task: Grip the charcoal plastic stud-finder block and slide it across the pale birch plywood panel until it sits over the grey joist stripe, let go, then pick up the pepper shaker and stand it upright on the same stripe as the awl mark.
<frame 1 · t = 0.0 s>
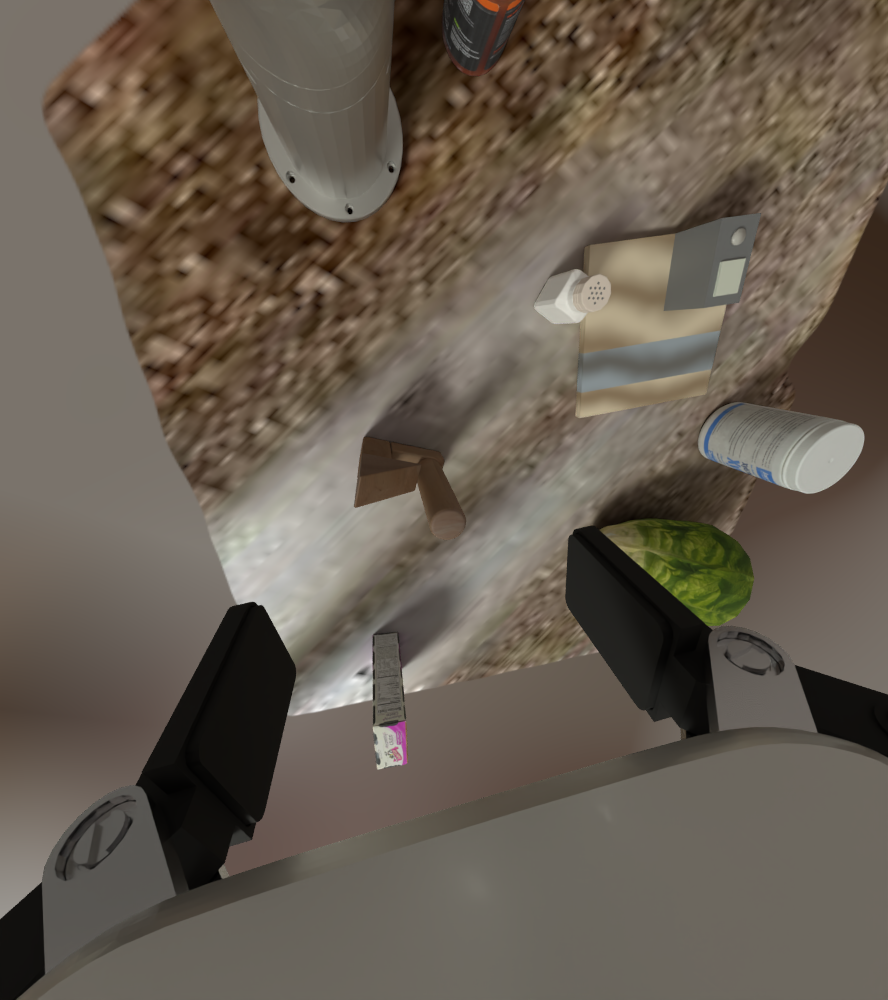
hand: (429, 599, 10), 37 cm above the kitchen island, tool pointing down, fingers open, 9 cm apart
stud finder: (685, 271, 41), point 1 cm above the kitchen island, touching plywood panel
supplement bottle: (471, 33, 30), on the kitchen island
wooden block: (400, 455, 47), on the kitchen island
lettuce: (628, 538, 61), on the kitchen island
candy bar box: (387, 652, 63), on the kitchen island
plywood panel: (648, 329, 45), on the kitchen island
supplement tub: (720, 430, 54), on the kitchen island
pepper shaker: (550, 301, 41), on the kitchen island
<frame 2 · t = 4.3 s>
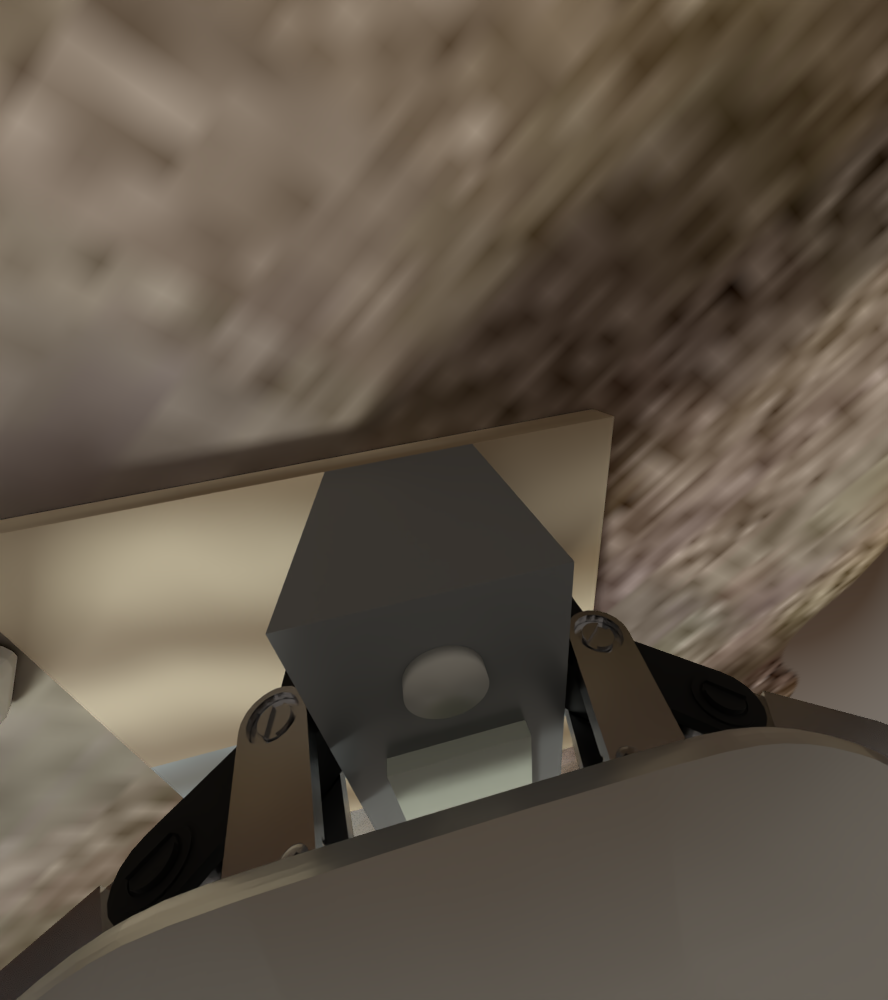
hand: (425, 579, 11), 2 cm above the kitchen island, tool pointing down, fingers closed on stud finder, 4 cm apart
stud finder: (421, 561, 12), point 1 cm above the kitchen island, touching gripper, plywood panel
plywood panel: (376, 661, 15), on the kitchen island
when the fingers open (2 cm above the kitchen island, at t = 7.3 s): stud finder stays where it is, resting on plywood panel.
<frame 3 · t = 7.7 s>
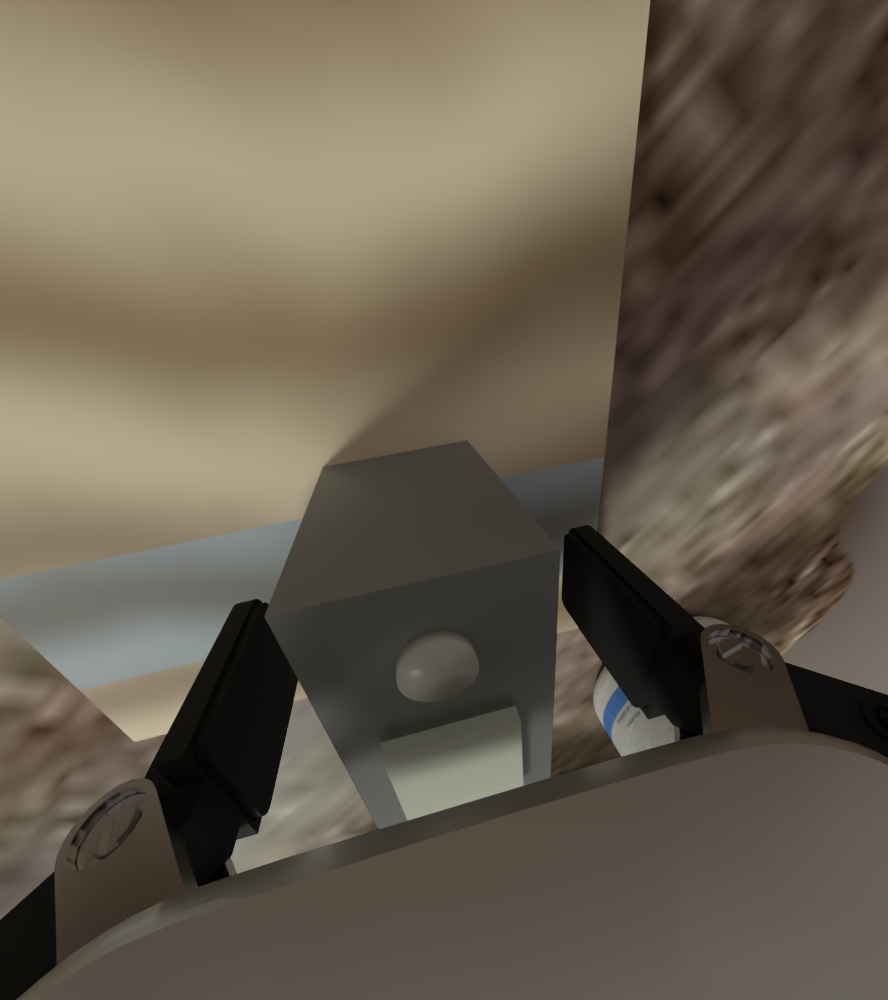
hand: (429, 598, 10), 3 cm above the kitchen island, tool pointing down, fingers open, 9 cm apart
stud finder: (418, 556, 12), point 1 cm above the kitchen island, touching plywood panel
plywood panel: (307, 459, 11), on the kitchen island
supplement tub: (656, 662, 21), on the kitchen island
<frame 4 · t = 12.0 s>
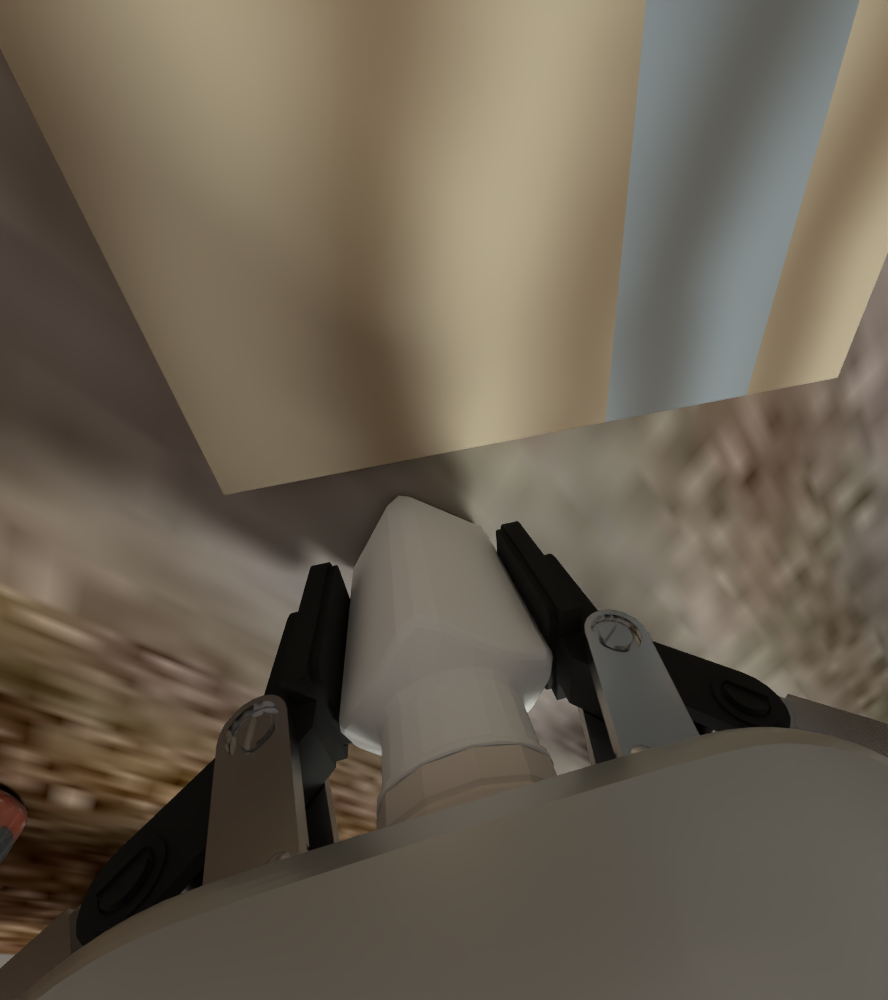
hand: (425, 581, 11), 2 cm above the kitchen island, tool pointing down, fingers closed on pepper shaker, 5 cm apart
pepper shaker: (418, 544, 13), on the kitchen island, touching gripper
when the fingers open (4 cm above the kitchen island, at t = 16.8 s): pepper shaker drops 1 cm, resting on plywood panel.
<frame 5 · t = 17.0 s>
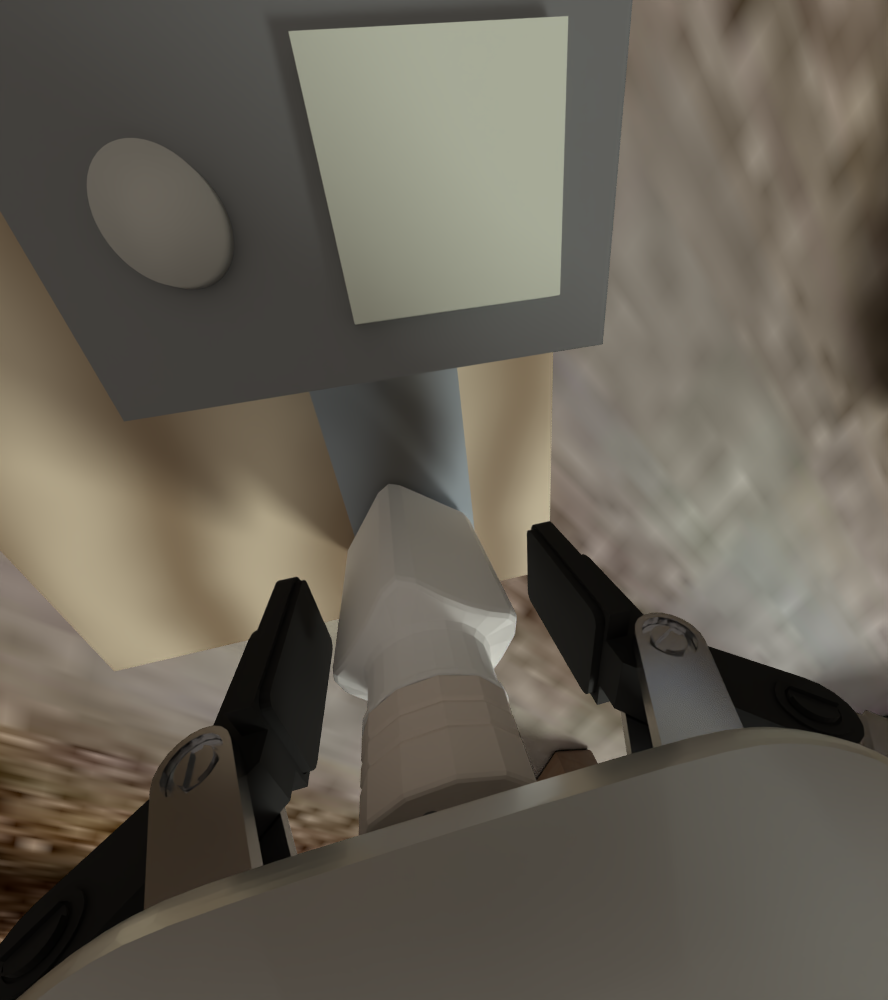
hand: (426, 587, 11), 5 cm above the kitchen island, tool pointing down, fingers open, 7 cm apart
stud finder: (361, 274, 10), point 1 cm above the kitchen island, touching plywood panel
wooden block: (547, 780, 30), on the kitchen island
plywood panel: (271, 392, 12), on the kitchen island
pepper shaker: (407, 529, 14), point 1 cm above the kitchen island, touching plywood panel
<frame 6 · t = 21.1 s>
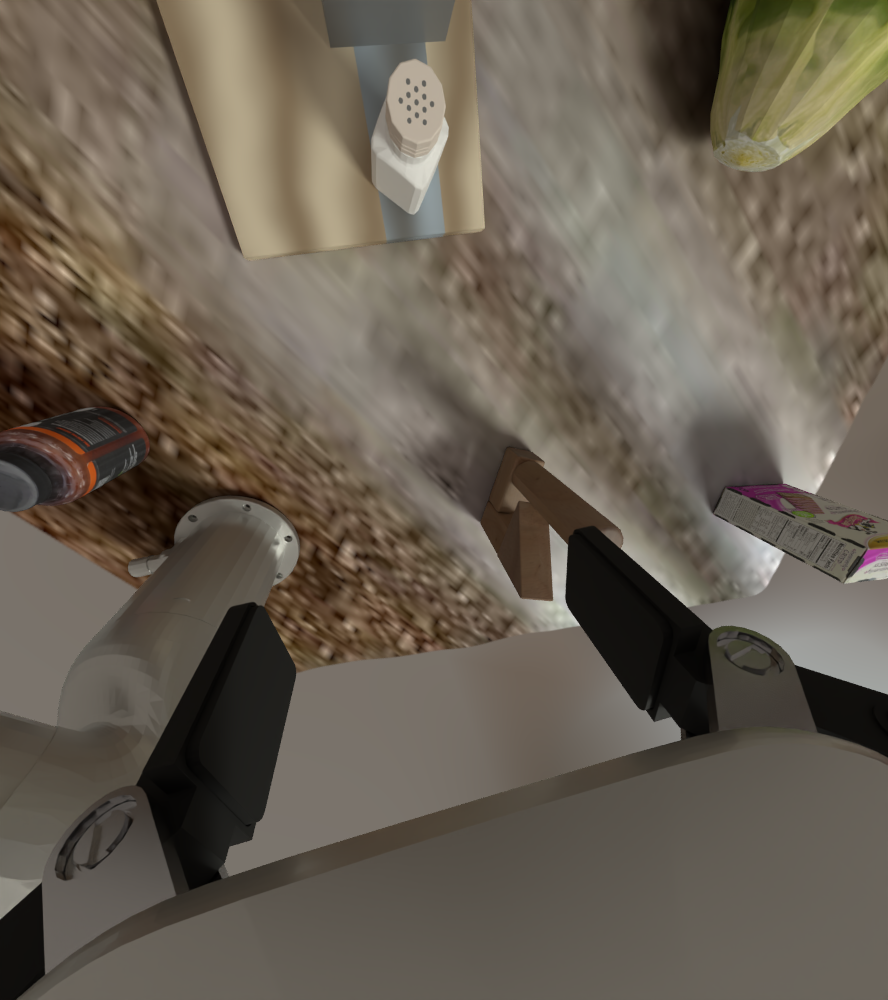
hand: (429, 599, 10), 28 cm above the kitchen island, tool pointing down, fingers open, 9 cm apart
supplement bottle: (117, 436, 32), on the kitchen island
wooden block: (504, 488, 42), on the kitchen island
lettuce: (767, 7, 27), on the kitchen island
candy bar box: (746, 497, 51), on the kitchen island
plywood panel: (336, 74, 24), on the kitchen island
pepper shaker: (403, 177, 26), point 1 cm above the kitchen island, touching plywood panel
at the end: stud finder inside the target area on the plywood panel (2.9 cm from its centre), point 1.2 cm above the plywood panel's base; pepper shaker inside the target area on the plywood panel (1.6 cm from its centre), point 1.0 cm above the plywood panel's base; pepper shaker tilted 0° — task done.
